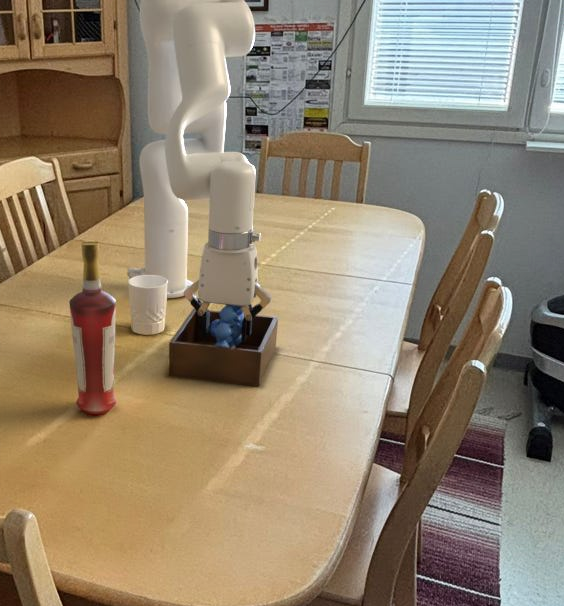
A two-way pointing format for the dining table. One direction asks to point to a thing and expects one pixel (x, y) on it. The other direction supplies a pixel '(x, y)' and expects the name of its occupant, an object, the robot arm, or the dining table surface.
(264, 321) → the brown wooden box
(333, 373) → the dining table surface
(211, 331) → the grapes
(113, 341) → the liquor
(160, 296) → the white cup
